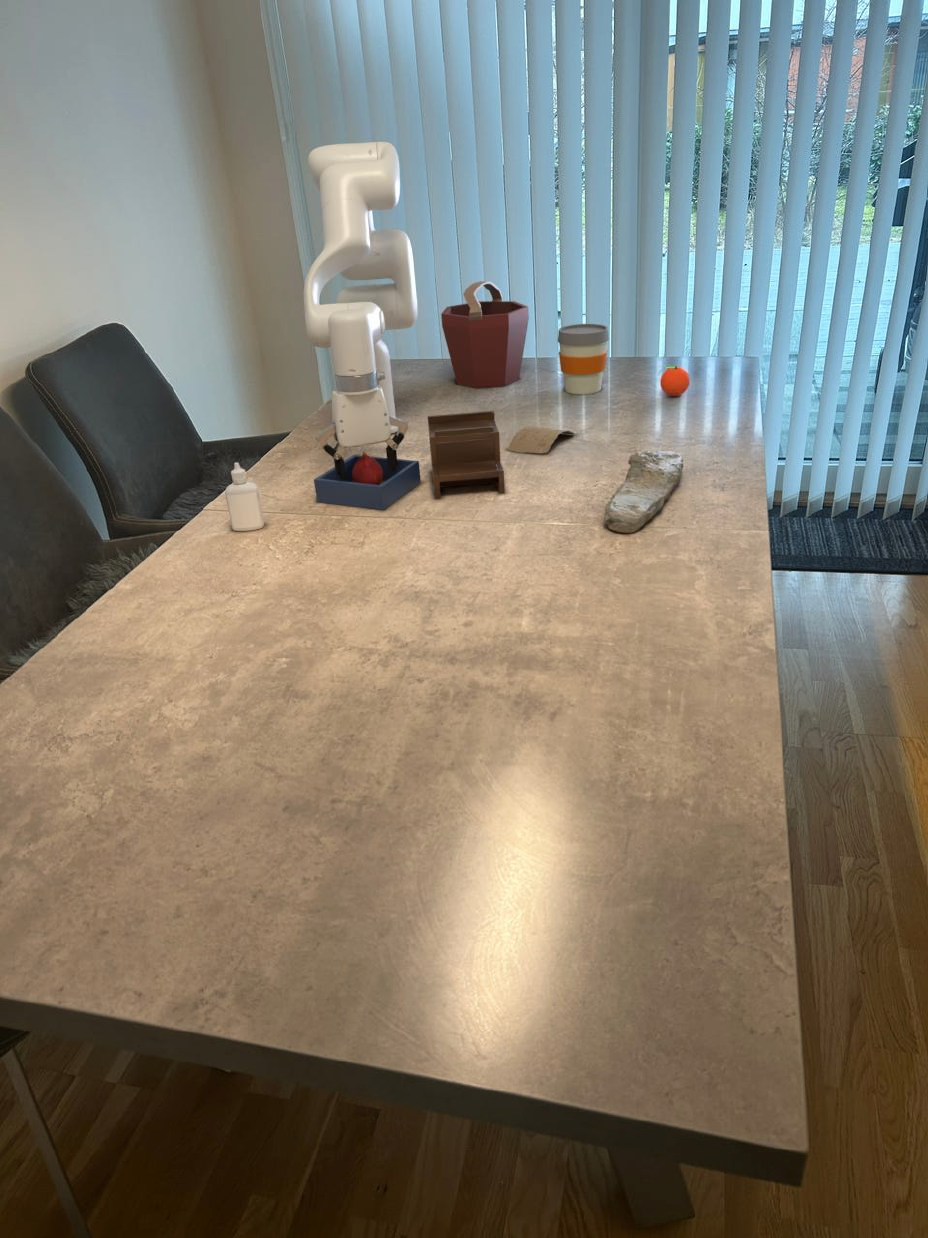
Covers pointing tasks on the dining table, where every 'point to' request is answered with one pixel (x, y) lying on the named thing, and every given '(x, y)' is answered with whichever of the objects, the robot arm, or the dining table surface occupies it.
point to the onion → (367, 471)
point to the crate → (368, 485)
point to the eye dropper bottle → (243, 502)
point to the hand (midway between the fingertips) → (367, 473)
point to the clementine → (674, 381)
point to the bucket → (485, 338)
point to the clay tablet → (535, 439)
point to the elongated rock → (643, 490)
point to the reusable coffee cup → (583, 356)
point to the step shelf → (465, 450)
